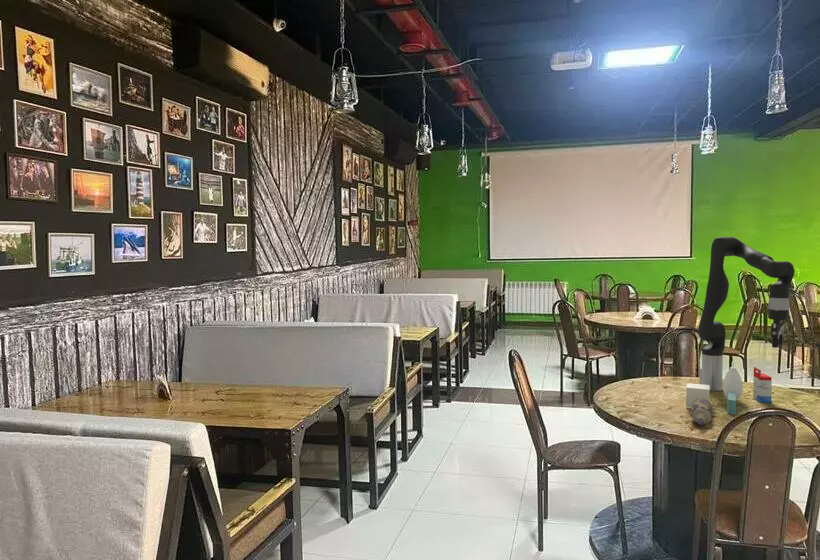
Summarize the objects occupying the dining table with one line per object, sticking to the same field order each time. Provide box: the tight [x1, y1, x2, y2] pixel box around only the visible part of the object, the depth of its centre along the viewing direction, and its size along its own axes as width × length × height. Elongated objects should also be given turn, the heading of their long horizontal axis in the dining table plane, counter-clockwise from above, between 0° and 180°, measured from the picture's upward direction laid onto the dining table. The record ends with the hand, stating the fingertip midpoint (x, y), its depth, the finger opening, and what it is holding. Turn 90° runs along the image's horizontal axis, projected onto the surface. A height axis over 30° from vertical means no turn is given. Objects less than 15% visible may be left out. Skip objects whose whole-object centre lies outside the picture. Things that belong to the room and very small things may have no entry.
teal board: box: [726, 391, 737, 416], centre depth 251 cm, size 3×16×6 cm, turn 153°
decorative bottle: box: [690, 398, 712, 426], centre depth 235 cm, size 26×8×7 cm, turn 152°
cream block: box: [685, 382, 711, 409], centre depth 257 cm, size 9×9×9 cm
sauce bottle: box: [722, 361, 744, 402], centre depth 264 cm, size 8×8×18 cm
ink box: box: [752, 366, 773, 404], centre depth 265 cm, size 8×5×15 cm, turn 168°
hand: (777, 345), depth 249 cm, fingers open, 8 cm apart
